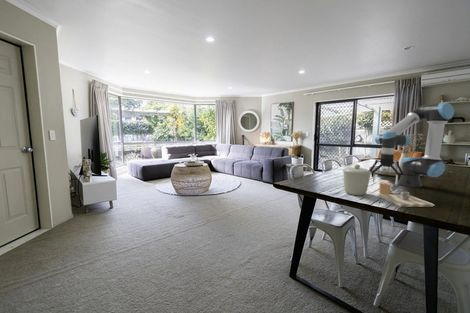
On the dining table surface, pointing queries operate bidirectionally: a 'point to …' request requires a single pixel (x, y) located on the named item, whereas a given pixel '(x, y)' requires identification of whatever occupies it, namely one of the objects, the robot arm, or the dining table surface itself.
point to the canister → (356, 180)
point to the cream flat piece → (405, 200)
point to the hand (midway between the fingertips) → (384, 183)
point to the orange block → (384, 188)
